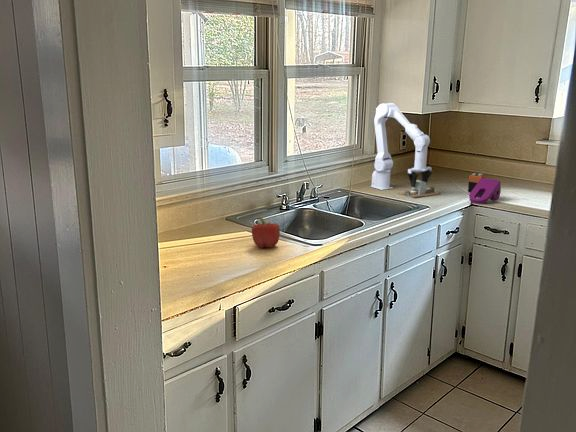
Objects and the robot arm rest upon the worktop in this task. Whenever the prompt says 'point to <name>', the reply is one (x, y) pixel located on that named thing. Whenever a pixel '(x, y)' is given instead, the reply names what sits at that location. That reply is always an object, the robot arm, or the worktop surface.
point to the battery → (474, 180)
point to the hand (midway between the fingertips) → (418, 186)
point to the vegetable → (265, 234)
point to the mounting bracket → (485, 191)
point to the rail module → (420, 187)
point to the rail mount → (415, 194)
